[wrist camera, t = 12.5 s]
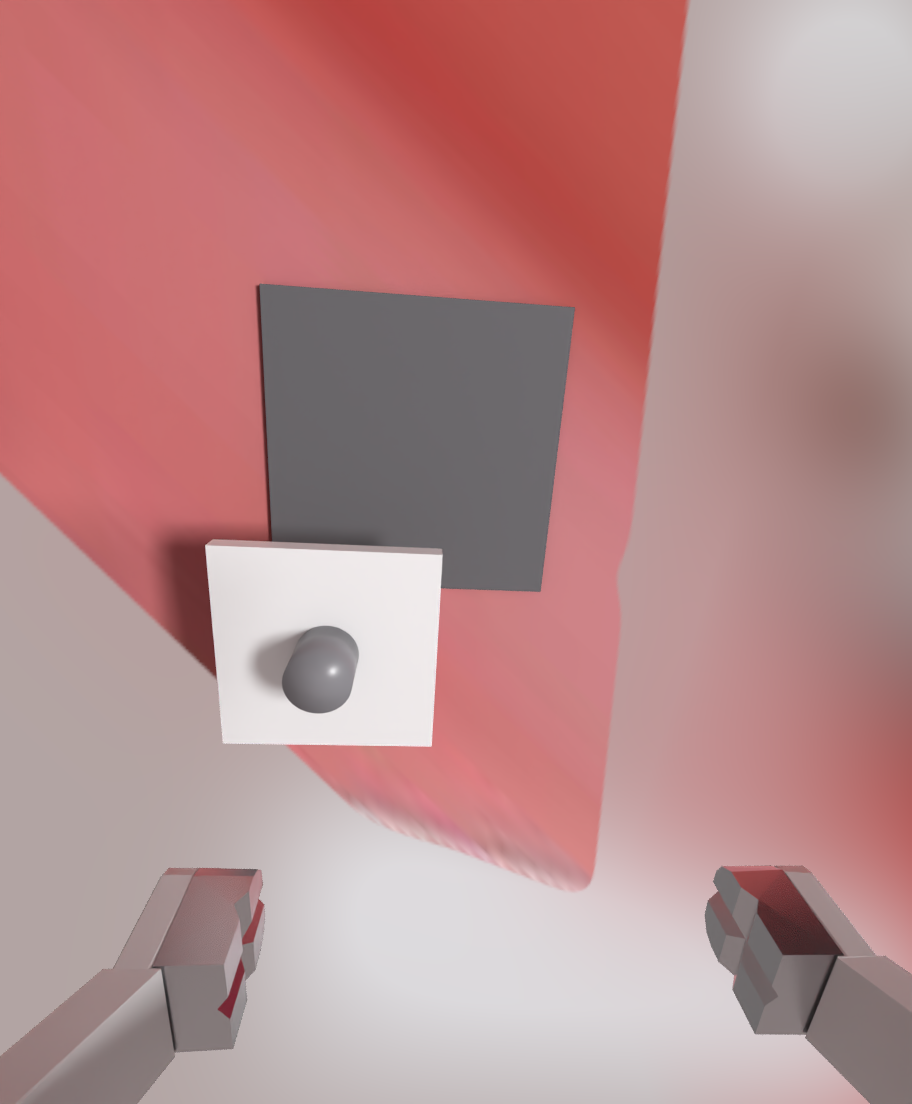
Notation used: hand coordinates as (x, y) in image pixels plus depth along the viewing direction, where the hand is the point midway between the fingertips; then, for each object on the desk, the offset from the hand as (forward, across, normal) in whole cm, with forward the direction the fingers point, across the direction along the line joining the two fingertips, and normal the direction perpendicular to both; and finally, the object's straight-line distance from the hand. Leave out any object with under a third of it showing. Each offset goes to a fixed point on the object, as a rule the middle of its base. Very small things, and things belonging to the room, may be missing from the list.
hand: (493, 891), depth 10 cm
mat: (+31, +2, -3) cm, 31 cm away
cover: (+25, +7, +9) cm, 28 cm away
